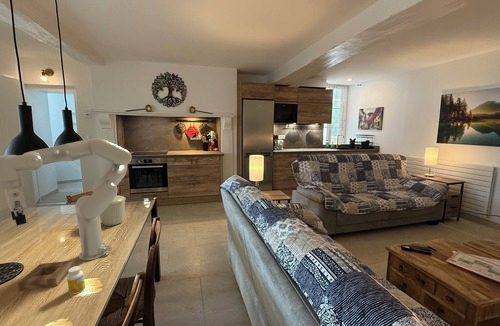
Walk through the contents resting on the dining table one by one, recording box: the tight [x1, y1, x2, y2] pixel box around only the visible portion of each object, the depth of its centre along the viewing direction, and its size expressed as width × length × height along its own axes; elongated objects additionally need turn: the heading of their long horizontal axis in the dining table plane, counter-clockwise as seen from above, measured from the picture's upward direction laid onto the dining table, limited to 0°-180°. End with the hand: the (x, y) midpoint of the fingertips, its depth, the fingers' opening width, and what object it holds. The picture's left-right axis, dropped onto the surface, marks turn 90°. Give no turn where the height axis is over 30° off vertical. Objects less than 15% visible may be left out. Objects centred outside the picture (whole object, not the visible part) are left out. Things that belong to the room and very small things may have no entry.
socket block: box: [17, 260, 75, 291], centre depth 109 cm, size 14×14×4 cm
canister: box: [99, 195, 127, 227], centre depth 169 cm, size 18×18×21 cm
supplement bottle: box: [66, 265, 86, 295], centre depth 100 cm, size 5×5×10 cm
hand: (19, 221), depth 108 cm, fingers open, 9 cm apart
